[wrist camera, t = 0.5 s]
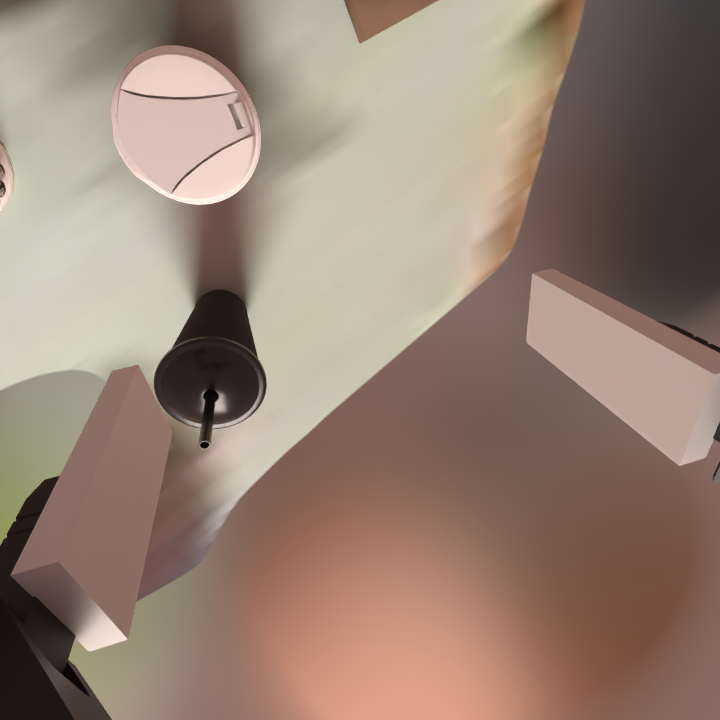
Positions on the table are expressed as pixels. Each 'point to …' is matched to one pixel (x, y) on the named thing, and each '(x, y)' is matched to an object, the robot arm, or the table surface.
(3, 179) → the decorative candle
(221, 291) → the drinking cup
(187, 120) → the paper cup
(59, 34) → the table surface
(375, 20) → the brown block
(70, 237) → the table surface
